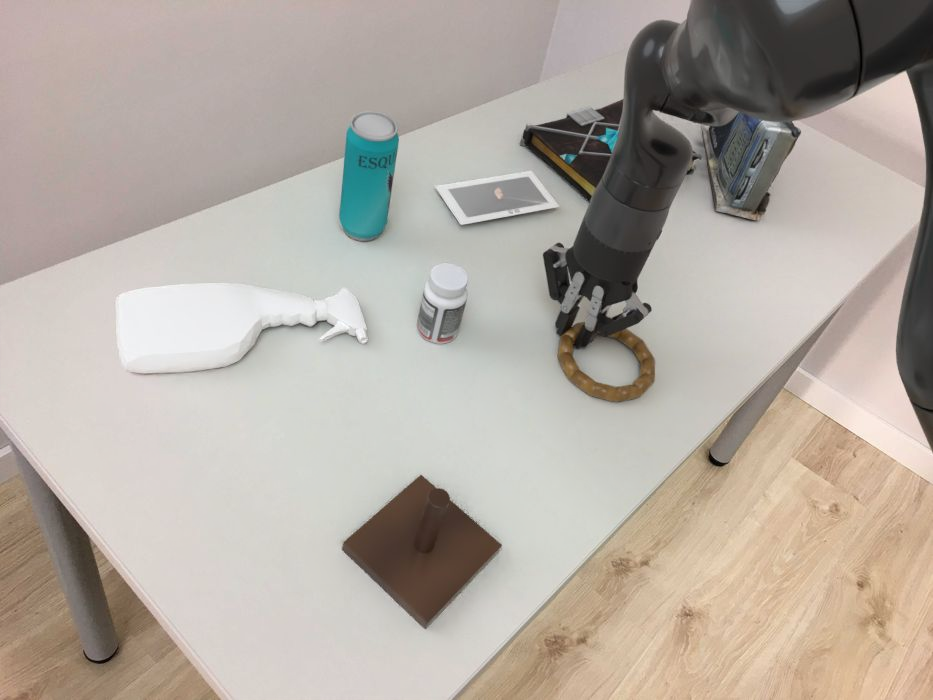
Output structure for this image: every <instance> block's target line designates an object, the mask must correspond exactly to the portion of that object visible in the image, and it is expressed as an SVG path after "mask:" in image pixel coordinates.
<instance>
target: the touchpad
mask: <svg viewBox="0 0 933 700" xmlns="http://www.w3.org/2000/svg"><path fill="white" fill-rule="evenodd" d="M434 188H435V189H436V191H437V192H438V194H439V195H440V197H441V198H442V200H443V201H444V203H445V204H446V205H447V207H448V208H449V210H450V212H451V213H452V214H453V216H454V217H455V219H456V220H457V222H458V223H459V225H460V226H462V225H469V224H474V223H475V224H476V223H479V222H485V221H491V220H495V219H500V218H501V219H502V218H507V217H512V216H513V217H514V216H517V215H522V214H528V213H534V212H539V211H545V210H549V209H555V208H556V209H557V208H560V205H559V203H558V202H557V201H556V200H555V199H554V197H553V196H552V194H550V192H549V191H548V189H547V188H546V187H545V186H544V185H543V183H542V182H541V181H540V179H539V178H538V177H537V175H536V174H535V173H534V172H533V170H526V171H521V172H514V173H508V174H502V175H495V176H489V177H483V178H476V179H470V180H464V181H456V182H451V183H444V184H439V185H434Z"/></svg>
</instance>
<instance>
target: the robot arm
mask: <svg viewBox="0 0 933 700" xmlns="http://www.w3.org/2000/svg"><path fill="white" fill-rule="evenodd" d="M630 43H631V44H630V46H629V48H628V51H627V54H626V59H625V66H624V77H623V78H624V80H623V98H622V99H623V110H622V118H621V124H620V129H619V133H618V136H617V140H616V143H615V146H614V148H613V151H612V154H611V157H610V159H609V162H608V164H607V167H606V169H605V172H604V174H603V176H602V178H601V180H600V182H599V184H598V185H597V187H596V189H595V191H594V193H593V195H592V198H591V200H590V201H589V203H588V204H587V208H586V210H585V213H584V215H583V218H582V220H581V223H580V226H579V228H578V231H577V234H576V236H575V239H574V242H573V244H572V246H570V247H565V245H564V244H563V243H561V242H557V243H555V244H554V245H552V246H551V247H549V248H548V249H546V250H545V251H544V252H543V253H542V259H543V265H544V271H545V277H546V282H547V288H548V294H549V298H550V299H551V300H553V301H557V302H558V303H559V305H560V307H559V308H560V310H559V312H558V316H557V318H556V320H555V322H554V324H555V325H554V327H555V328H556V333H555V334H556V335H558V336H559V337H561V336H562V335H563V334H564V333H565V332H566V331H568V330H569V329H570V328H571V327H572V326H573V325H574V322H575V321H576V318H577V316H578V313H579V311H580V309H581V307H580V306H579V305H580V304H581V303H582V301H583V299H584V298H586V299H587V300H588V301H589V305H588V308H587V310H586V313H587V316H586V319H585V321H584V322H585V324H584V325H582V327H581V329H580V331H579V334H578V336H577V338H576V340H575V343H574V345H573V348H575V349H577V350H580V349H581V348H583V349H586V348H587V347H588V346H590V344H592V343H593V342H594V340H595V339H596V336H597V335H598V334H597V332H598V331H600V334H599V335H601V336H602V337H604V338H607V337H609V336H610V335H612V334H614V333H617V332H619V331H622V330H624V329H629V328H631V327H633V326H635V325H638V324H639V323H641V322H642V321H643V320H644V319H645V318H646V317H647V316H648V315H650V313H651V312H652V310H653V308H652V306H651V304H650V303H648V302H642V301H641V299H640V298H639V296H638V294H637V292H638V288H639V287H638V279H639V277H640V275H641V273H642V270H643V269H644V267H645V264H646V263H647V261H648V259H649V257H650V254H651V253H652V250H653V248H654V247H655V245H656V242H657V241H658V240H659V238H660V236H661V235H662V232H663V228H664V226H665V224H666V221H667V218H668V216H669V213H670V209H671V207H672V204H673V202H674V199H675V198H676V196H677V193H678V192H679V190H680V187H681V185H682V184H683V181H684V179H685V178H686V175H687V174H688V173H687V171H688V169H689V167H690V164H691V161H692V157H693V151H694V150H693V146H692V144H691V142H690V140H689V139H688V137H687V136H685V135H684V133H683V132H681V131H680V130H679V129H677V128H676V127H674V126H672V124H671V125H670V123H667V122H666V121H665V122H664V120H663V119H661V118H660V117H659V116H658V115H656V114H655V112H659V113H662V114H665V115H668V116H671V117H675V118H678V119H682V120H684V121H688V122H691V123H694V124H698V125H701V126H705V127H710V126H716V127H718V126H723V125H726V124H727V123H729V122H730V121H731V120H733V119H734V117H735V116H736V115H737V114H738V113H739V112H741V113H743V114H745V115H748V116H750V117H753V118H756V119H760V120H764V121H771V122H788V121H792V122H795V121H801V120H805V119H808V118H811V117H814V116H817V115H820V114H822V113H824V112H827V111H828V110H831V109H834V108H835V107H837V106H839V105H842V104H844V103H846V102H848V101H850V100H852V99H854V98H855V97H857V96H859V95H862V94H863V93H865V92H868V91H869V90H871V89H873V88H876V87H877V86H879V85H882V84H883V83H885V82H887V81H889V80H891V79H893V78H896V77H897V76H899V75H901V74H903V73H906V75H907V78H908V80H909V83H910V87H911V90H912V94H913V97H914V100H915V104H916V108H917V109H916V110H917V113H918V119H919V122H920V128H921V134H922V139H923V140H922V141H923V147H924V155H925V157H924V159H925V183H924V184H925V185H924V194H923V201H922V202H923V203H922V209H921V214H920V220H919V223H918V224H919V225H918V230H917V233H916V238H915V242H914V247H913V251H912V255H911V257H910V258H911V259H910V262H909V266H908V271H907V275H906V279H905V283H904V289H903V293H902V298H901V304H900V309H899V315H898V321H897V329H896V330H897V331H896V338H895V339H896V340H895V359H896V366H897V372H898V375H899V378H900V379H901V383H902V385H903V388H904V390H905V393H906V395H907V397H908V400H909V403H910V406H911V407H912V409H913V412H914V414H915V416H916V418H917V420H918V423H919V425H920V428H921V430H922V432H923V434H924V437H925V439H926V442H927V443H928V445H929V449H930V450H931V453H933V0H690V2H689V8H688V10H687V13H686V18H685V19H684V20H683V21H681V23H680V22H678V21H673V20H671V19H670V20H669V19H657V20H653V21H652V22H650V23H648V24H646V25H645V26H644V27H643V28H641V29H640V31H639V32H638V33H637V34H636V35H635V37H634V38H633V40H632V42H630ZM622 302H623V303H624V302H625V303H626V304H625V306H624V307H623V309H622V312H621V313H619V314H616V315H614V316H612V317H610V316H608V313H609V311H610V308H611V307H612V306H614V305H616V304H618V303H622Z"/></svg>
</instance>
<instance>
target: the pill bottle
mask: <svg viewBox="0 0 933 700" xmlns="http://www.w3.org/2000/svg"><path fill="white" fill-rule="evenodd" d="M468 283H469V276H468V274H467V272H466V271H465V270H464V269H463V268H462V267H461V266H459V265H457V264H454V263H452V262H451V263H450V262H442V263H438V264H436V265H435V266H434V267H432V268H431V270H430V273H429V277H428V280H427V281H426V283H425V285H424V287H423V292H422V295H421V296H422V297H421V301H420V306H419V311H418V315H417V321H416V329H417V331H418V334H419V335H420V337H422V338H423V339H424V340H426V341H428V342H430V343H432V344H438V345H440V344H442V345H443V344H447V343H450V342H452V341H453V340H455V338H457V336H458V334H459V331H460V328H461V324H462V320H463V316H464V311H465V307H466V304H467V300H468V293H469V292H468V289H467V287H468Z"/></svg>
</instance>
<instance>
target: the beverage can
mask: <svg viewBox="0 0 933 700" xmlns="http://www.w3.org/2000/svg"><path fill="white" fill-rule="evenodd" d="M349 121H350V122H349V123H350V124H349V126H348V128H347V130H346V136H345V148H344V159H343V169H342V179H341V181H342V182H341V190H340V191H341V192H340V202H339V203H340V204H339V216H338V217H339V221H340V225H341V226H342V227H341V228H342V229H343V232H344V233H345V235H347V236H348V237H349V238H351V239H352V240H354V241H357V242H358V241H359V242H371V241H374V240H375V239H377V238H378V237H379V236H380V235H381V234H382V232H383V231H384V229H385V228H386V227H387V224H388V218H389V211H390V204H391V197H392V190H393V183H394V176H395V170H396V164H397V163H396V162H397V157H398V150H399V144H400V137H399V134H398V131H399V125H398V123H397V121H396V120H395V119H394V118H393V117H391V116H390V115H388V114H386V113H383V112H380V111H375V110H364V111H360V112H357V113H355V114H353V116H352V117H351V119H350V120H349Z"/></svg>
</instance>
